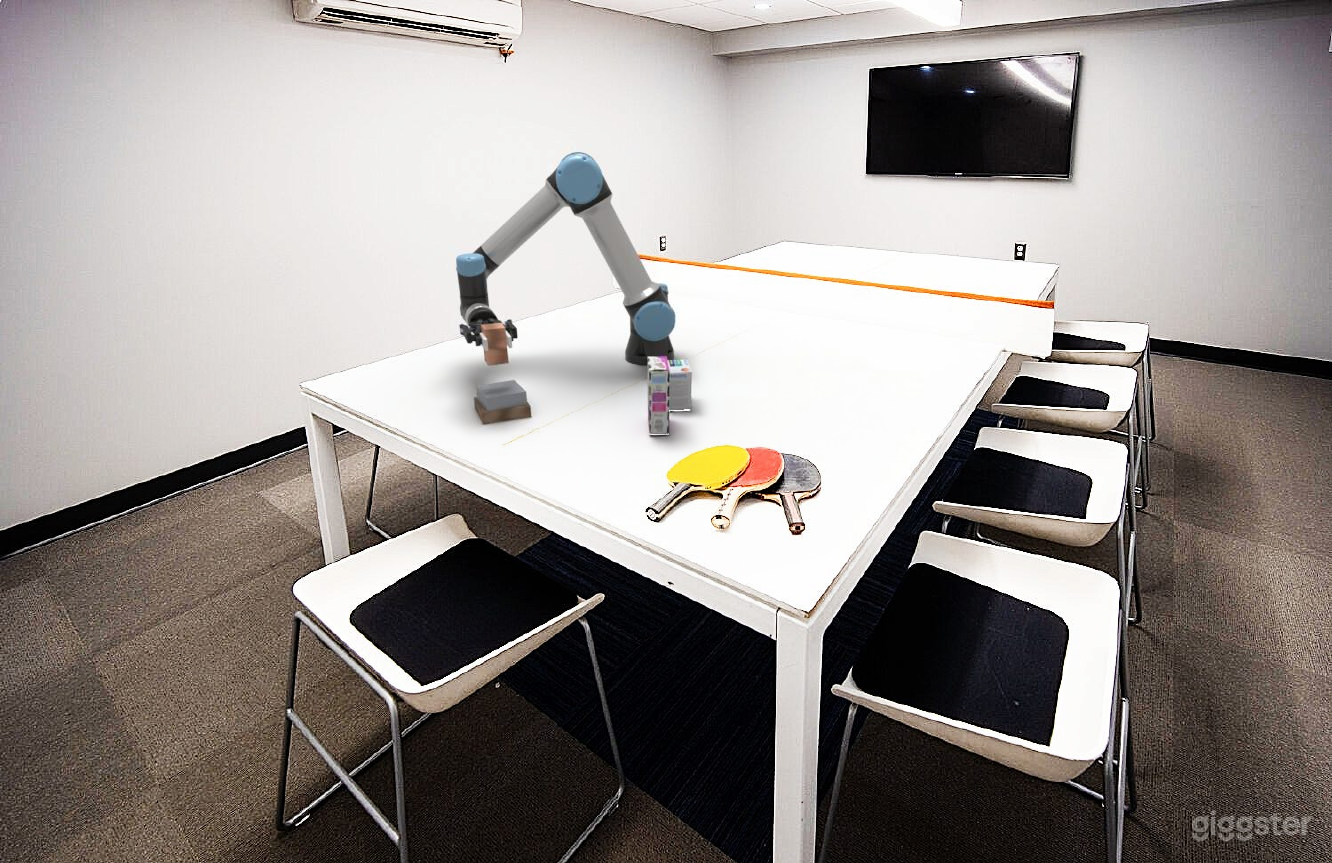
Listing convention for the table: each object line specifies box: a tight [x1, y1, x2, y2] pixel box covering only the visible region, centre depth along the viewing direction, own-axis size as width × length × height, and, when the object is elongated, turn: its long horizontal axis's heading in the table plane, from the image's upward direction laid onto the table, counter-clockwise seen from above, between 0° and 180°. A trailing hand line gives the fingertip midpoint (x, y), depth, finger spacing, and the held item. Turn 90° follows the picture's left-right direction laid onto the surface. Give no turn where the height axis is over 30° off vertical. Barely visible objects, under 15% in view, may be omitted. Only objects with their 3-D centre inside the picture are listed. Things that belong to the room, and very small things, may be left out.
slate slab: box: [475, 379, 528, 412], centre depth 184 cm, size 10×10×4 cm
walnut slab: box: [473, 396, 532, 425], centre depth 186 cm, size 12×12×4 cm
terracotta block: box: [481, 322, 510, 366], centre depth 179 cm, size 5×5×9 cm
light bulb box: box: [668, 358, 693, 410], centre depth 188 cm, size 11×7×11 cm, turn 5°
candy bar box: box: [647, 356, 670, 434], centre depth 173 cm, size 11×5×16 cm, turn 3°
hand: (498, 343), depth 174 cm, fingers closed on terracotta block, 5 cm apart
